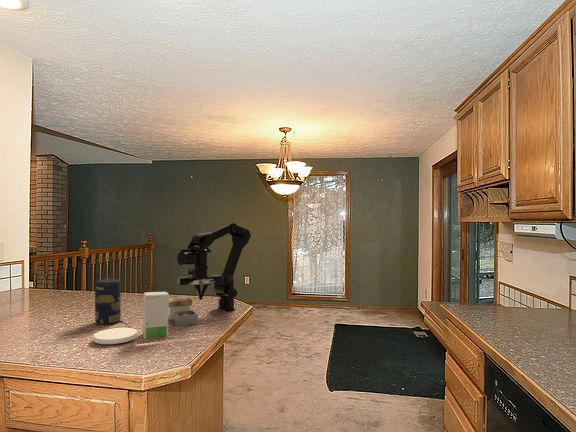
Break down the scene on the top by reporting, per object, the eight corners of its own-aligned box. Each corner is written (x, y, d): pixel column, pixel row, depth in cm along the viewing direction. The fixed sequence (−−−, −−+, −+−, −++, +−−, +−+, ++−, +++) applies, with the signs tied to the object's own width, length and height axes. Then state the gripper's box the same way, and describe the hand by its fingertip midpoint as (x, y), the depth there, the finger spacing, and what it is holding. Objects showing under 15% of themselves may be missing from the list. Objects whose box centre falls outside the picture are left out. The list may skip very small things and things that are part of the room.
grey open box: (193, 321, 164) (193, 310, 164) (197, 325, 157) (197, 314, 157) (174, 323, 161) (174, 311, 161) (177, 327, 154) (177, 316, 154)
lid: (187, 300, 175) (187, 296, 175) (192, 305, 166) (192, 300, 166) (165, 302, 171) (165, 298, 171) (168, 307, 162) (168, 302, 162)
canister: (125, 320, 164) (126, 276, 164) (108, 326, 155) (108, 280, 156) (107, 318, 168) (107, 275, 168) (89, 324, 159) (89, 278, 159)
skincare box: (143, 340, 138) (144, 295, 138) (142, 335, 144) (142, 292, 144) (169, 337, 141) (169, 293, 141) (166, 332, 147) (166, 290, 147)
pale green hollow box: (186, 315, 174) (186, 301, 174) (190, 319, 167) (190, 305, 167) (166, 317, 170) (166, 302, 171) (169, 321, 163) (170, 306, 163)
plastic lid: (122, 348, 131) (122, 340, 131) (84, 345, 133) (84, 338, 133) (145, 335, 145) (145, 328, 145) (109, 333, 147) (109, 326, 147)
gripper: (216, 260, 184) (216, 294, 184) (175, 262, 176) (175, 298, 176) (223, 263, 174) (223, 299, 174) (179, 265, 166) (179, 303, 166)
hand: (200, 299), depth 172 cm, fingers closed
